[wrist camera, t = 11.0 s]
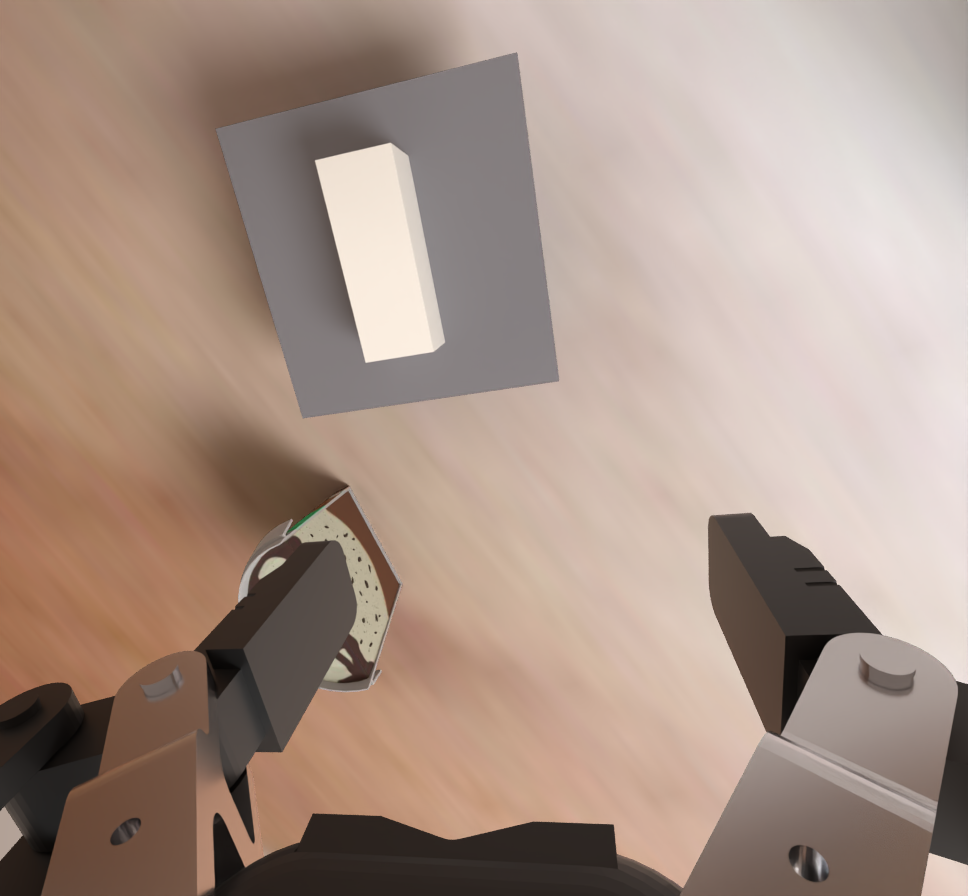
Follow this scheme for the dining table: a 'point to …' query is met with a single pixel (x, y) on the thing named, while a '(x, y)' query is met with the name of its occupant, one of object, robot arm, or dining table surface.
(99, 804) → the robot arm
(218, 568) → the dining table surface
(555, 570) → the dining table surface
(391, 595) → the food container
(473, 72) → the lid
